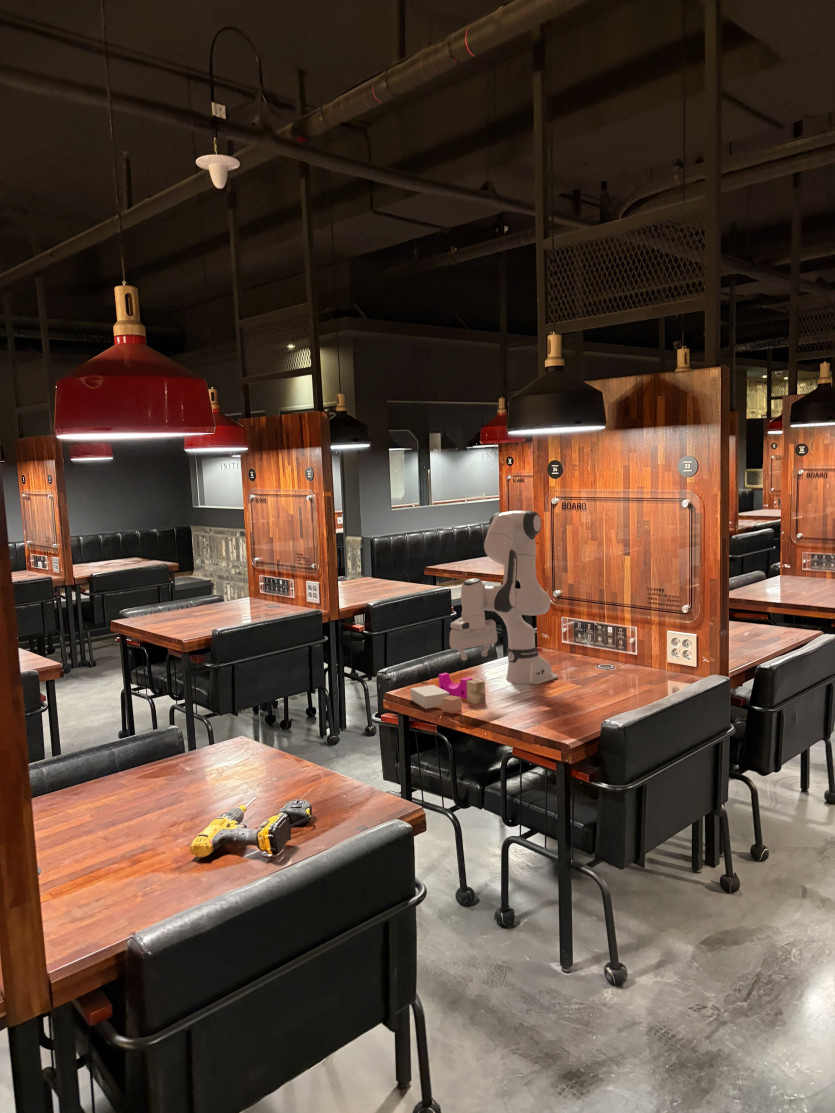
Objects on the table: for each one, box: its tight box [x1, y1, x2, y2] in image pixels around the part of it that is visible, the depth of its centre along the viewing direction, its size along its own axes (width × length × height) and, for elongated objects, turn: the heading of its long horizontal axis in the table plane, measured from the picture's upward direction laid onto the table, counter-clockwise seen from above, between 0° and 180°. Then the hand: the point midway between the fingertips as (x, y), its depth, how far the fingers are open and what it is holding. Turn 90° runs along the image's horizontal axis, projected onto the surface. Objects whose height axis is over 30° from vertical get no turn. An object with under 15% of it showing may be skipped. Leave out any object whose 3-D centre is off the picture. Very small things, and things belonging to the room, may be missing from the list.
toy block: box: [438, 672, 473, 700], centre depth 317 cm, size 15×6×8 cm, turn 42°
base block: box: [409, 684, 450, 710], centre depth 307 cm, size 10×14×5 cm
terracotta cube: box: [441, 695, 463, 714], centre depth 294 cm, size 5×5×5 cm
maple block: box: [466, 678, 487, 705], centre depth 305 cm, size 5×5×8 cm
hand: (474, 658), depth 303 cm, fingers open, 8 cm apart
